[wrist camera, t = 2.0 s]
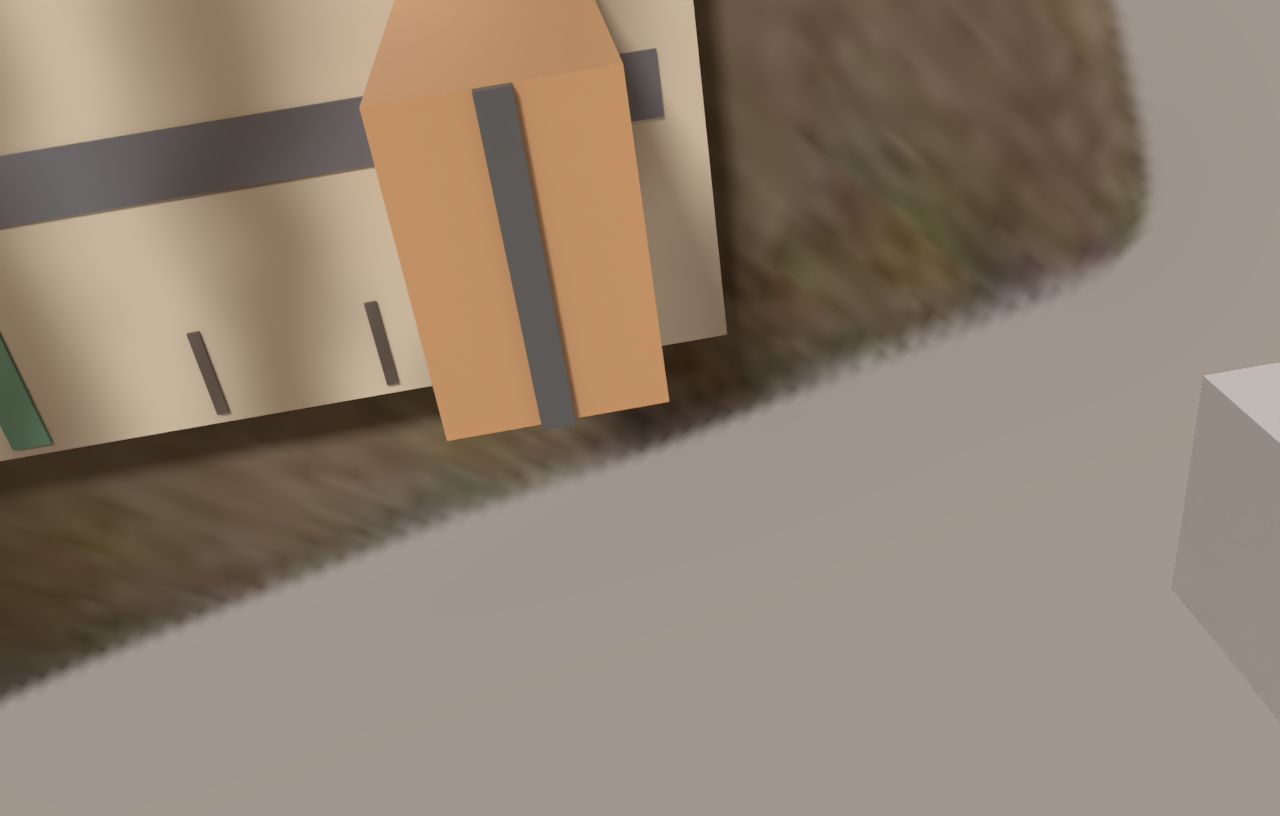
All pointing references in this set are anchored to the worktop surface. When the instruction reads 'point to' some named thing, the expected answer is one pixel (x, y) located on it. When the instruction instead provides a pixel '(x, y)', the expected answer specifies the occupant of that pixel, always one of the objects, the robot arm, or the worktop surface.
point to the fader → (516, 210)
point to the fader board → (254, 211)
